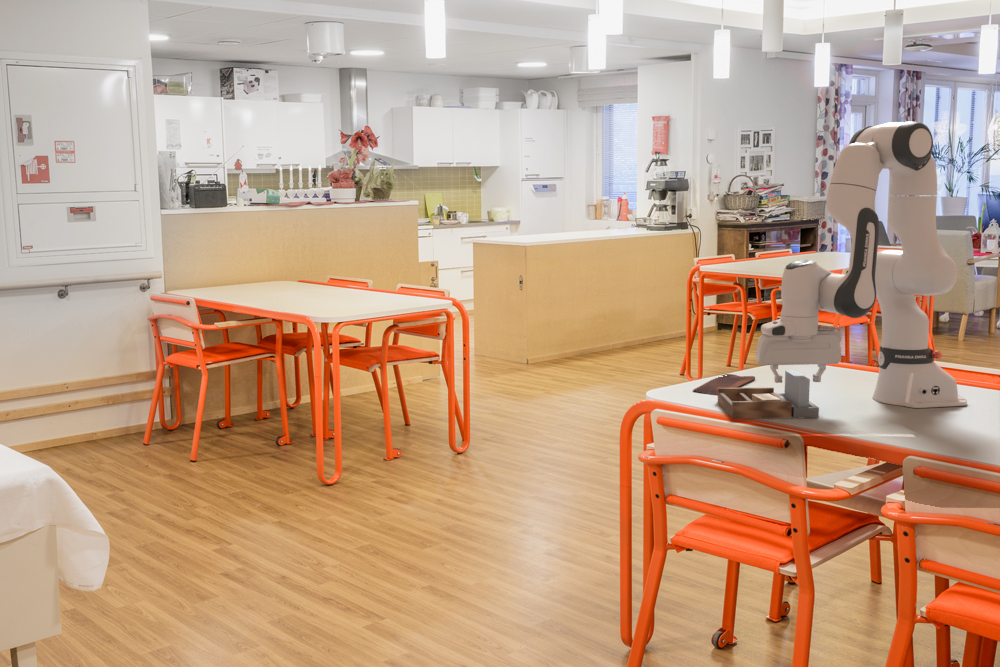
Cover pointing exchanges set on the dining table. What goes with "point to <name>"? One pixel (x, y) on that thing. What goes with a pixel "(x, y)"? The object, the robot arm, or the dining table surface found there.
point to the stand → (803, 410)
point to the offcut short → (764, 397)
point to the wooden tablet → (724, 383)
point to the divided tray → (752, 403)
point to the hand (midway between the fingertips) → (797, 382)
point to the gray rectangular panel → (797, 388)
